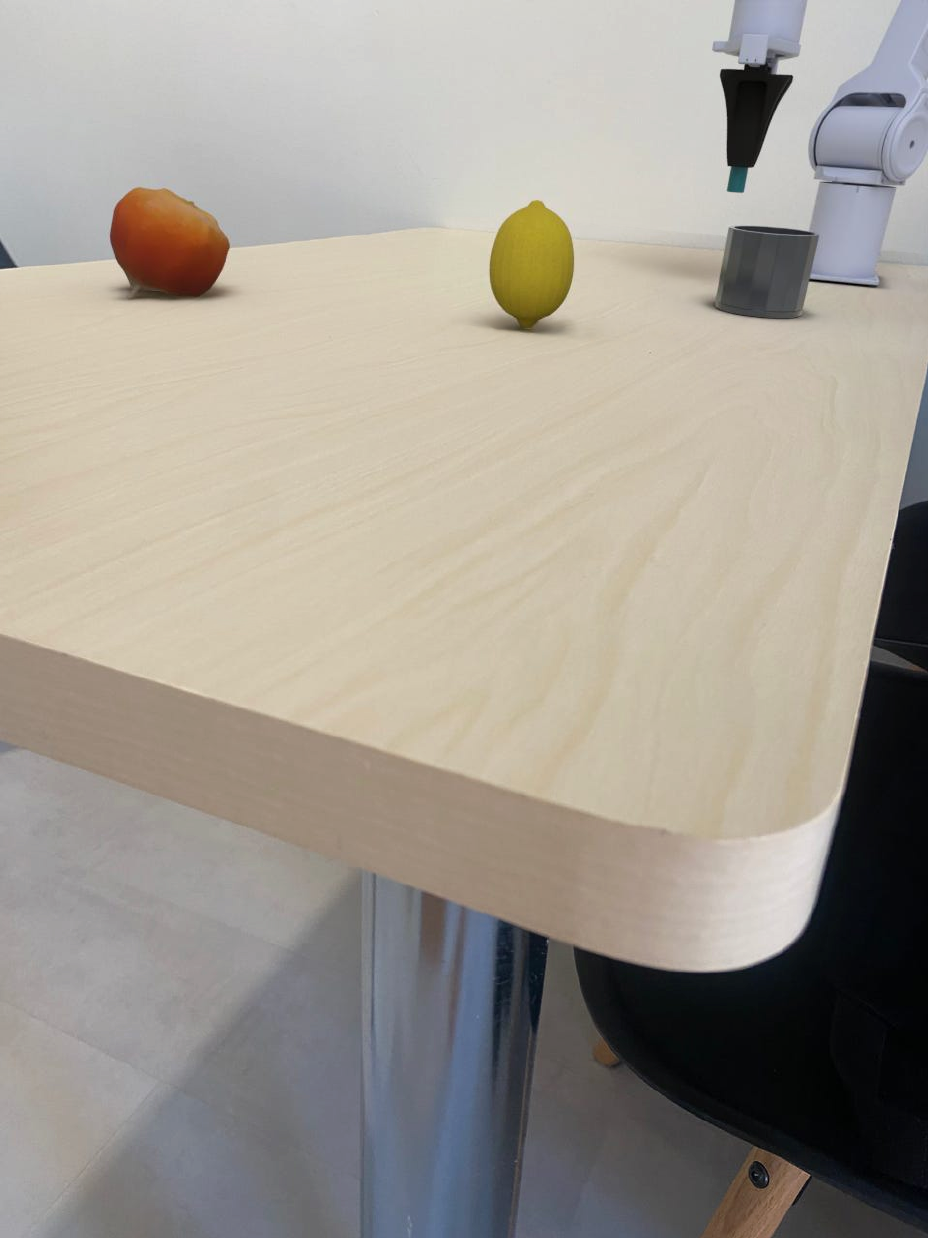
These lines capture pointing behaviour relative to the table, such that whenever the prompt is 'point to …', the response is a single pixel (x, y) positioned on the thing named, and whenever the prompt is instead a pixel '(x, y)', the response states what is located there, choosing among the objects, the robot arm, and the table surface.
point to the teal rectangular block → (737, 179)
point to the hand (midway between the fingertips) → (740, 166)
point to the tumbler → (766, 271)
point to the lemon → (532, 264)
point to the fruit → (167, 243)
